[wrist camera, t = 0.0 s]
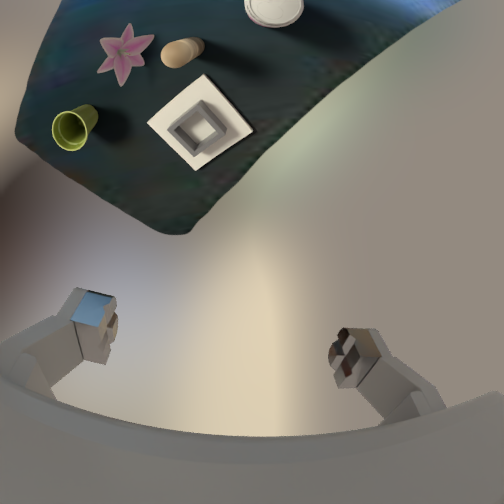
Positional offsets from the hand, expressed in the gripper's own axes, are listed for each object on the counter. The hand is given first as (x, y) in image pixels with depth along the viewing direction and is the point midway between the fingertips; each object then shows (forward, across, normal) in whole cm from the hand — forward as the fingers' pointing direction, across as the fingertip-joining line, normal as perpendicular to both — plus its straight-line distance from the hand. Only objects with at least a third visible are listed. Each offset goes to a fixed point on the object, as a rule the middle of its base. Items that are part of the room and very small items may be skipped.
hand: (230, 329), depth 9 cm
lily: (+49, +24, -18) cm, 57 cm away
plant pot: (+54, +34, -2) cm, 64 cm away
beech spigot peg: (+48, +11, -19) cm, 53 cm away
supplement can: (+45, -1, -29) cm, 54 cm away
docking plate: (+54, +7, -3) cm, 54 cm away
